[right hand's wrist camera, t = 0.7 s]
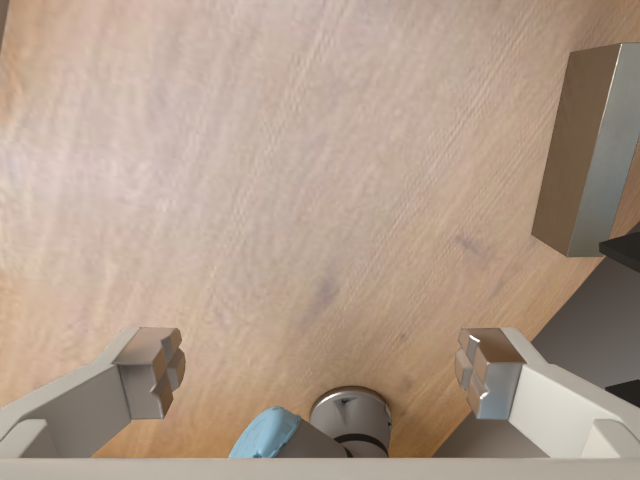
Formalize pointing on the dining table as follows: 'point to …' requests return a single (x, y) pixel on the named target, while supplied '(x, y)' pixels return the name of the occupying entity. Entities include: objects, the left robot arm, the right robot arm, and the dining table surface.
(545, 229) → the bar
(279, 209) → the dining table surface
